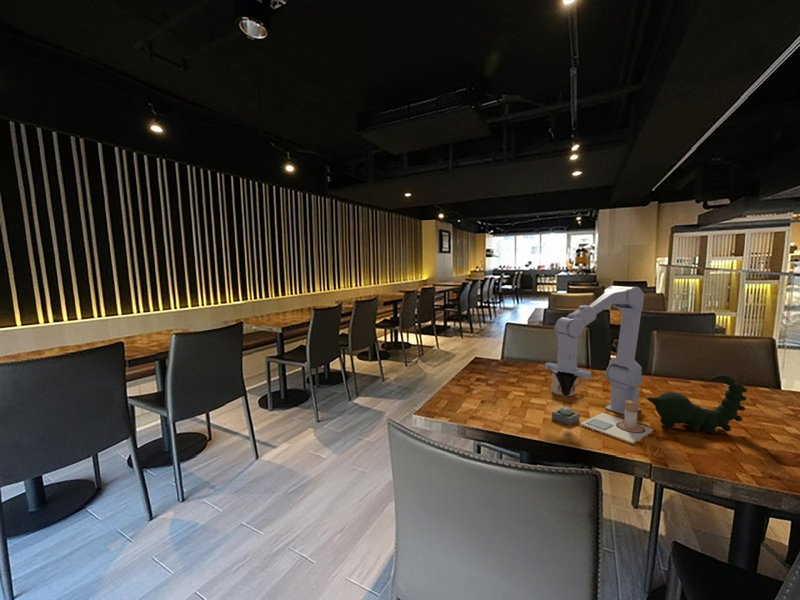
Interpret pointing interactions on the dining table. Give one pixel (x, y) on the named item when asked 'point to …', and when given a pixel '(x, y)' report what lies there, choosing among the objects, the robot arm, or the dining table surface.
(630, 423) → the small capped bottle
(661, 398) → the toy figurine
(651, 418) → the dining table surface
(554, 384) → the teacup with lid
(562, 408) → the button
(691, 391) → the dining table surface
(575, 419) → the button housing
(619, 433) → the picture board
